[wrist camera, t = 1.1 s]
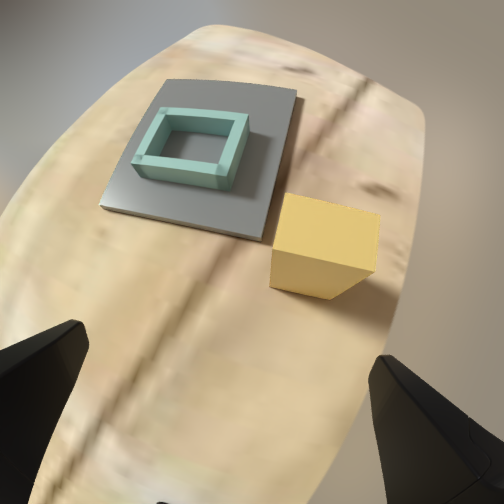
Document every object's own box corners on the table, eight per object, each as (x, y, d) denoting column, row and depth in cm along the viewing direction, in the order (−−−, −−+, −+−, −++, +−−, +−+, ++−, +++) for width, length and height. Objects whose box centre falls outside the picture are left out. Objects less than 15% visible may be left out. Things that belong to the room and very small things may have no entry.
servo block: (330, 299, 22) (375, 271, 13) (269, 286, 23) (272, 248, 13) (336, 264, 23) (380, 215, 13) (277, 251, 24) (285, 192, 14)
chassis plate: (260, 241, 24) (260, 225, 20) (103, 208, 26) (85, 192, 22) (296, 96, 29) (298, 73, 25) (168, 84, 30) (161, 64, 27)
